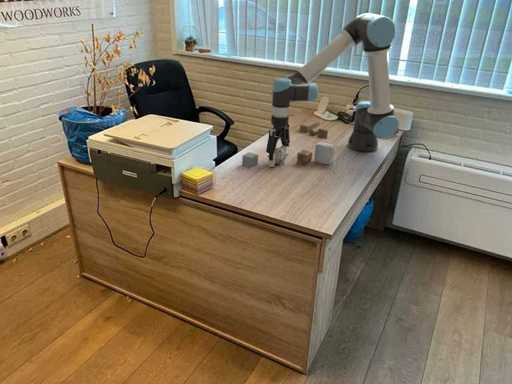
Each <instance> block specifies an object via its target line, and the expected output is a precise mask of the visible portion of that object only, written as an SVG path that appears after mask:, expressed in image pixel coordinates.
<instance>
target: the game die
mask: <svg viewBox="0 0 512 384" xmlns="http://www.w3.org/2000/svg"><path fill="white" fill-rule="evenodd" d="M281 146H282V147H283V145H281ZM281 146H280V147H276V148H275V151H274V153H275V164H276V165H277V164H282V165H285V163H284V161H286V160H285V158H286V159H287V156H289V154H287V152H286V153H285V151H284V150H283V148H282V147H281ZM267 157H268V158H269V155H267Z"/></svg>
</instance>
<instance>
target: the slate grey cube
mask: <svg viewBox="0 0 512 384" xmlns="http://www.w3.org/2000/svg"><path fill="white" fill-rule="evenodd" d="M241 160H242V163H241V165H242V167H246V168H250V169H253V168H255V167H256V166H258V165H259V164H258V163H259V154H257V153H253V152H250V151H249V152H247V153H244V154H242V159H241Z"/></svg>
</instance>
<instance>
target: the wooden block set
mask: <svg viewBox="0 0 512 384" xmlns="http://www.w3.org/2000/svg"><path fill="white" fill-rule="evenodd" d="M320 122H321V120H320V119H319V118H316V117H315V118H313V119H311V120H308V121H305V122H304V123H303V122H302V123H301V124H300V125H299V132H300V133H302V132H303V133H302V134H306V133H307V134H309V135H310V136H312V135H313V136H315V135H317V136H318V137H319V136H320V138H324V139H328V134H329V131H328V129H327V126H325V125H324V124H320Z"/></svg>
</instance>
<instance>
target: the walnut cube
mask: <svg viewBox="0 0 512 384" xmlns="http://www.w3.org/2000/svg"><path fill="white" fill-rule="evenodd" d="M296 155H297V157H296V164H299V165H304V166H308V165H309V164H312V160H313V159H312V158H313V151H309V150H305V149H302V150H300V151H298V152H297V154H296Z"/></svg>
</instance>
